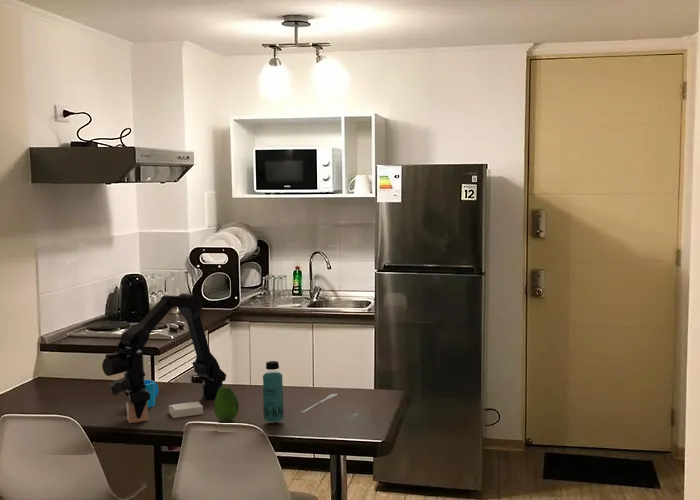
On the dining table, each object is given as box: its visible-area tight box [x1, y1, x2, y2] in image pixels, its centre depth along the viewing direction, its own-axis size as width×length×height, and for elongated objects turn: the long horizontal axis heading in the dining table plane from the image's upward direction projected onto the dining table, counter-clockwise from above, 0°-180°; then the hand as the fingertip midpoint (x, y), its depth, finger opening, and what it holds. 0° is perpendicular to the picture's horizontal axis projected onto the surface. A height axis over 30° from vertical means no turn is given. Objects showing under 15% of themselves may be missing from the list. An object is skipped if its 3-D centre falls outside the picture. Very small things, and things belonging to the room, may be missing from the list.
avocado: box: [213, 384, 240, 423], centre depth 258 cm, size 8×8×12 cm
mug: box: [144, 379, 160, 409], centre depth 281 cm, size 12×8×8 cm
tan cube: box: [125, 400, 149, 424], centre depth 263 cm, size 6×5×6 cm
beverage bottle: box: [262, 360, 285, 423], centre depth 254 cm, size 6×7×20 cm
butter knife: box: [301, 393, 338, 413], centre depth 277 cm, size 1×24×3 cm
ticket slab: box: [168, 401, 204, 419], centre depth 269 cm, size 10×7×3 cm
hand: (137, 416), depth 263 cm, fingers closed on tan cube, 5 cm apart
